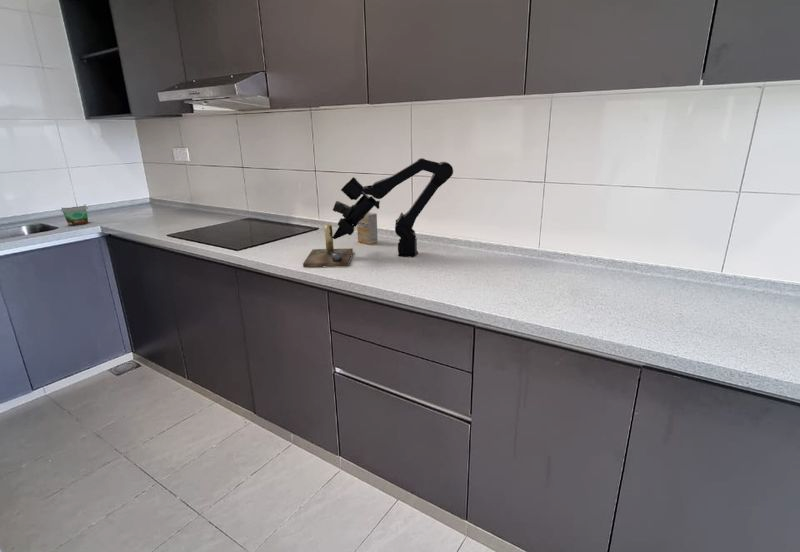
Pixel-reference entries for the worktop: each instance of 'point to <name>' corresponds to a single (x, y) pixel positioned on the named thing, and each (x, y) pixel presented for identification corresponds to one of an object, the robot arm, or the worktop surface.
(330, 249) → the tuning lever
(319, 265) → the dial board
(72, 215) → the food container
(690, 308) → the worktop surface
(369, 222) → the supplement box
